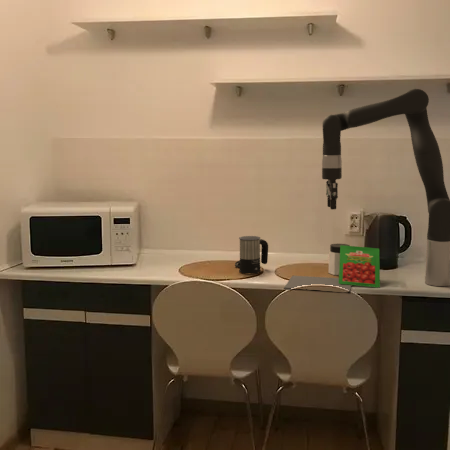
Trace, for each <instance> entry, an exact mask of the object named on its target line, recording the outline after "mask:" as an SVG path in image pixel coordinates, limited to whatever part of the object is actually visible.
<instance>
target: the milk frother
mask: <svg viewBox="0 0 450 450" xmlns="http://www.w3.org/2000/svg"><path fill="white" fill-rule="evenodd" d="M238 239H239V260H237V261H236V262H235V263H234V267H235V268H237V267H239V270H238V272H239V273H240V272H242V273H241V274H243V273H256V274H259V273H258V272H260V271H261V263H262V265H266V264H268V257H269V243H268V242H267V240H265V239H261V237H260V236H258V235H257V236H256V235H245V236H240V237H239V238H238ZM261 272H262V271H261ZM261 272H260V273H261Z"/></svg>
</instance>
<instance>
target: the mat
mask: <svg viewBox="0 0 450 450" xmlns="http://www.w3.org/2000/svg"><path fill="white" fill-rule="evenodd" d="M311 284H325V285H333V286H339V287H342V288H345V289H348V290H350V291H351V288H352V285H347V284H339V277H325V276H324V277H323V276H309V275H304V276H303V275H292V276H290V279H288V281H287V283H286V284H285V286H284V287H283V289H284V290H291V288H294V287H297V286H302V285H311Z"/></svg>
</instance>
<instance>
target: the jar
mask: <svg viewBox="0 0 450 450" xmlns="http://www.w3.org/2000/svg"><path fill="white" fill-rule="evenodd" d="M340 245H343V246H351V245H350V244H346V243H331V244H330V246H329V251H328V274H330V275H331V276H332V275H333V276H338V277H339V265H340Z"/></svg>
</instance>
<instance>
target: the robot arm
mask: <svg viewBox="0 0 450 450" xmlns="http://www.w3.org/2000/svg"><path fill="white" fill-rule="evenodd" d="M429 101H430V99H429V95H428V94H427V92H426V91H425V90H422V89H421V88H413V89H409V91H407V92H405V93H403V94H400V95H398V96H396V97H393V98H390V99H387V100H384V101H381V102H379V101H378V102H376V103H370V104H367V105H362V106H359V107H354V108H352V109H349V110H347V111H344V112H339V113H335V114H329V115H326V116H325V117H324V119H323V121H322V140H323V141H322V142H323V143H322V159H321V165H322V166H321V178H322V180H326V182H325V183H326V184H325V187H326V188H325V191H326V193H325V195H326V198H327V201H326V202H327V207H328V208H330V210H336V209H337V199H338V198H339V196H338V195H339V193H338V188H339V187H338V186H339V183H338V182H337V180H341V179H342V176H343V175H342V174H343V173H342V169H343V168H342V165H343V164H342V163H343V161H342V144H341V143H342V142H341V137H342V136H341V135H342V134H341V133H342V132H343V131H344V130H348V129H352V128H358V127H363V126H366V125H369V124H372V123H376V122H378V121H382V120H383V119H387V118H390V117H391V118H392V117H395V116H399V115H405V118H406V121H407V124H408V127H409V132H410V138H411V144H412V145H411V146H412V151H413V156H414V159H415V163H416V167H417V170H418V173H419V176H420V178H421V181H422V184H423V186H424V190H425V195H426V204H427V213H428V225H427V234H426V249H425V250H426V253H425V254H426V256H425V257H426V258H425V275H424V284H427V285H429V286H434V287H435V286H436V287H450V197H449V194H448V190H447V188H446V184H445V179H444V177H445V176H444V175H445V174H444V163H443V158H442V155H441V150H440V146H439V143H438V141H437V138H436V135H435V134H434V132H433V130H432V127H431V125H430V121H429V117H428V110H427V109H428V108H427V107H428V106H429Z"/></svg>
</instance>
